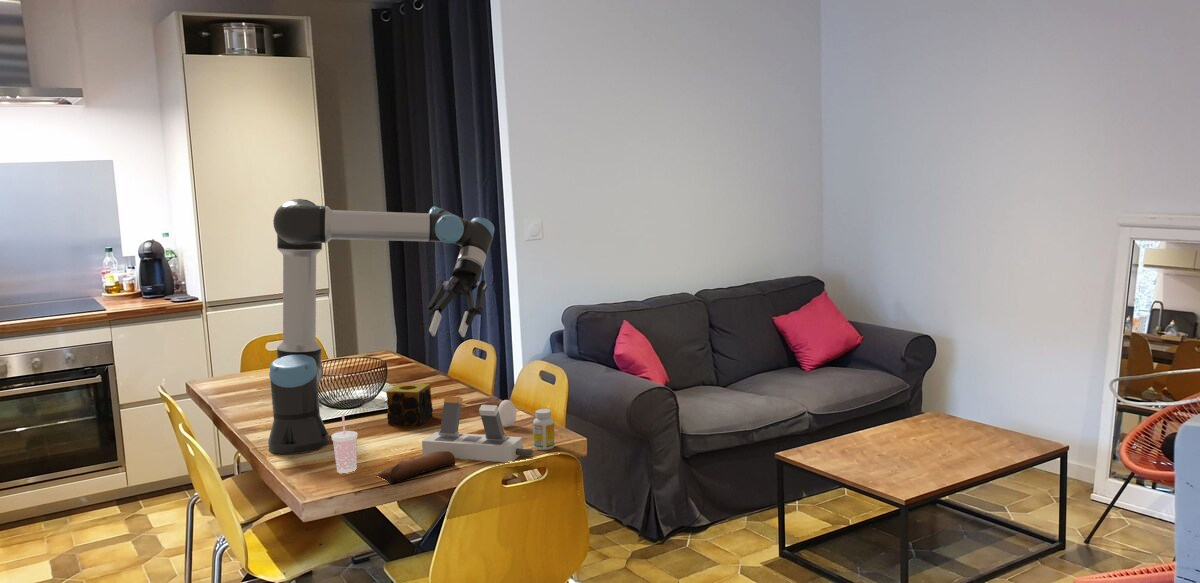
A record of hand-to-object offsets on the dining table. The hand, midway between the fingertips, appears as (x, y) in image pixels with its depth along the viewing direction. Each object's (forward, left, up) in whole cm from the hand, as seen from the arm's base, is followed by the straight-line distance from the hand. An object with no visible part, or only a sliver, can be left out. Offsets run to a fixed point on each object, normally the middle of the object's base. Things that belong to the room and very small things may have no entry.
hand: (446, 333), depth 239 cm
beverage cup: (-32, -2, -29) cm, 43 cm away
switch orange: (-7, -10, -24) cm, 27 cm away
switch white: (-1, -21, -24) cm, 32 cm away
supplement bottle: (+12, -24, -29) cm, 40 cm away
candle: (+2, +24, -29) cm, 37 cm away
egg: (+17, -2, -29) cm, 34 cm away
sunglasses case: (-21, -16, -29) cm, 39 cm away
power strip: (-3, -17, -29) cm, 33 cm away
